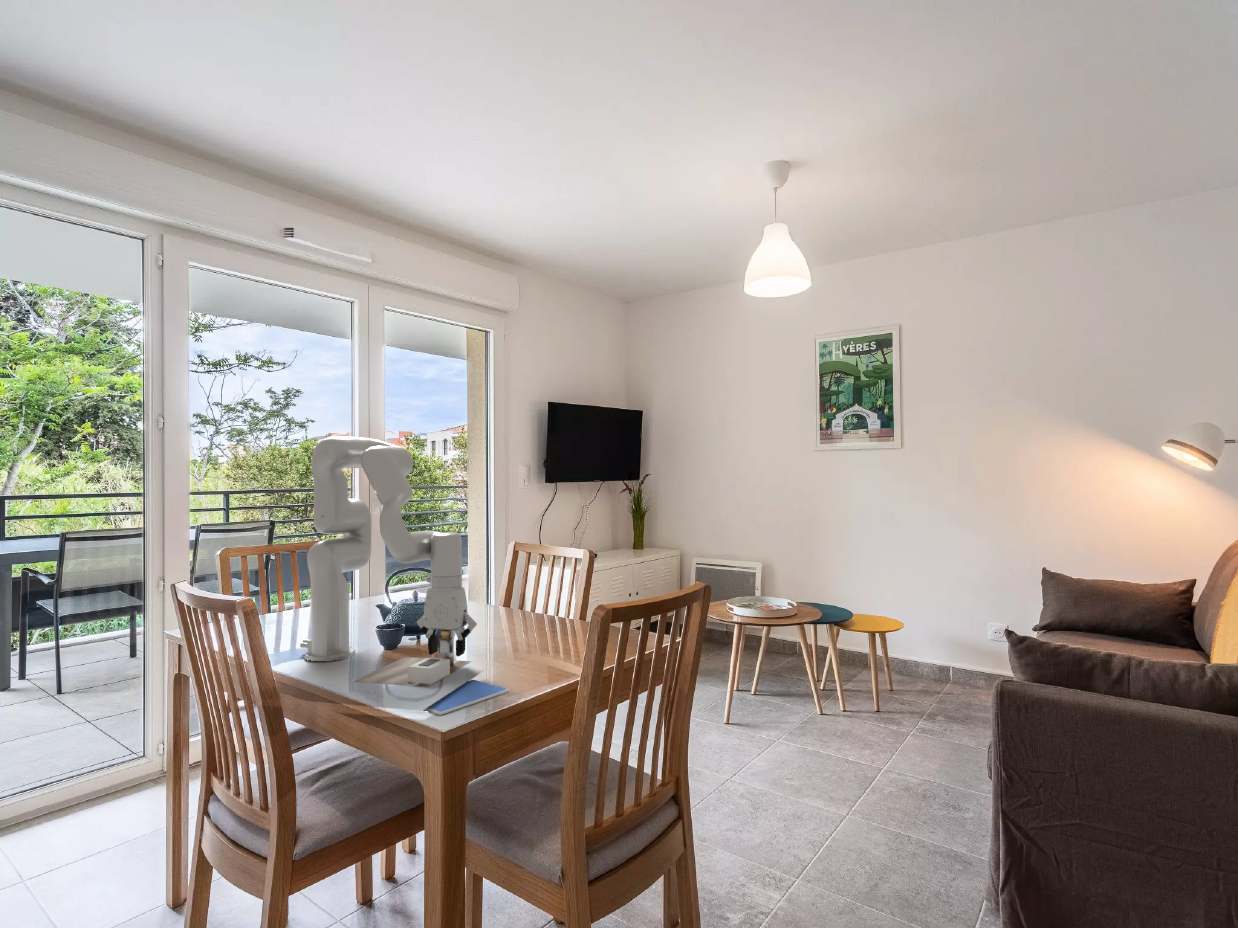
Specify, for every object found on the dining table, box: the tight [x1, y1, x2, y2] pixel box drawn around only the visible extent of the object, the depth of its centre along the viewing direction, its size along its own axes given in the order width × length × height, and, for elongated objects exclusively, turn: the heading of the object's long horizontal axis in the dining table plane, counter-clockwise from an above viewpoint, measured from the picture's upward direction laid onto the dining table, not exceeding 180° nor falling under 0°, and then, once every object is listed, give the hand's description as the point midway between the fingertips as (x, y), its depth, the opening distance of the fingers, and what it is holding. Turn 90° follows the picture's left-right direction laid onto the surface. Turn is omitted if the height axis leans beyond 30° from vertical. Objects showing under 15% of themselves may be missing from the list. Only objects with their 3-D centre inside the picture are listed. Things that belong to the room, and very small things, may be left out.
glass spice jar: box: [438, 629, 455, 666], centre depth 165 cm, size 4×4×10 cm
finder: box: [408, 657, 451, 684], centre depth 155 cm, size 6×8×4 cm
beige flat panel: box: [354, 656, 472, 688], centre depth 160 cm, size 19×21×2 cm
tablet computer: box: [423, 679, 509, 716], centre depth 145 cm, size 19×13×1 cm, turn 143°
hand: (446, 653), depth 165 cm, fingers open, 6 cm apart
